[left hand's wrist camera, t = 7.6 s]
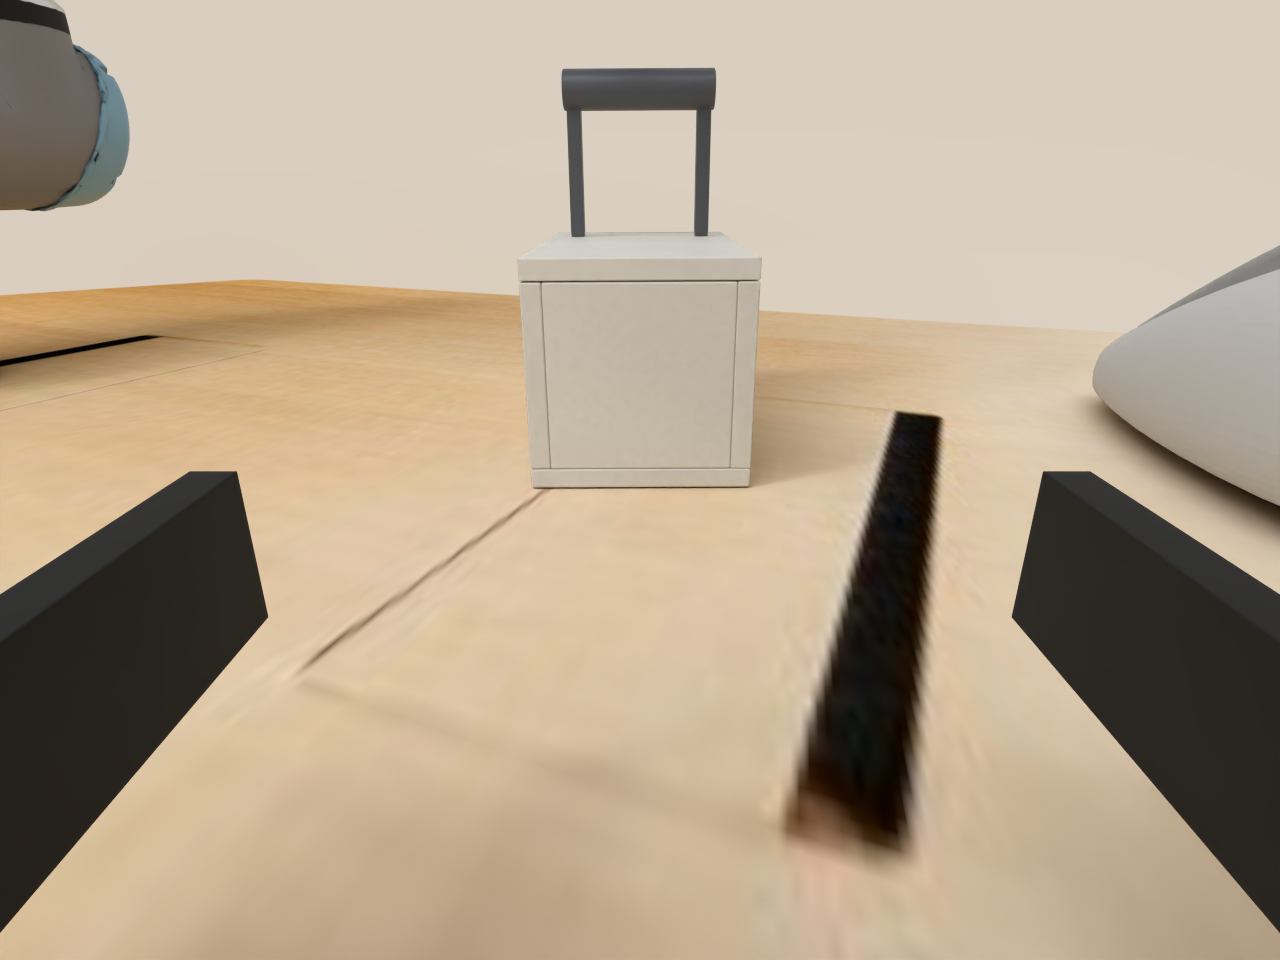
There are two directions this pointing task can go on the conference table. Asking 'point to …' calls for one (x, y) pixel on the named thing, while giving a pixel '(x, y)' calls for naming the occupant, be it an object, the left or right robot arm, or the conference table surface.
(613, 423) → the chest
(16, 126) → the right robot arm
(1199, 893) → the conference table surface
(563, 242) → the lid
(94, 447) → the conference table surface
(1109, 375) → the projector
